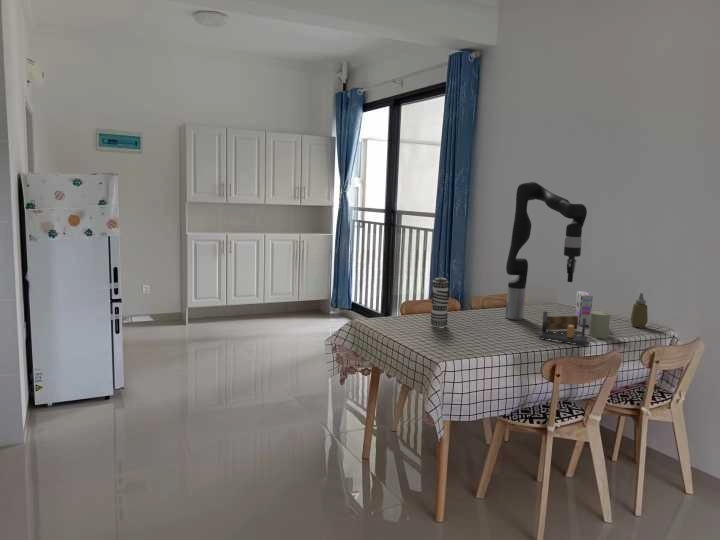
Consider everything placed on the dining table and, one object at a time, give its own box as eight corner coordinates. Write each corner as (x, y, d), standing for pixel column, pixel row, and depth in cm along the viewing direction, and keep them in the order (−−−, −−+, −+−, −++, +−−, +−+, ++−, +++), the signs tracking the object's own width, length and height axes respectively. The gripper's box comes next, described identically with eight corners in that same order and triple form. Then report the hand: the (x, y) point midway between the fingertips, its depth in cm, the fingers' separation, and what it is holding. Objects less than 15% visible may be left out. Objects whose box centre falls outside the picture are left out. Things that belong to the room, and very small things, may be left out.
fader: (566, 337, 263) (567, 326, 262) (568, 334, 267) (569, 324, 267) (572, 337, 262) (573, 327, 261) (573, 335, 266) (574, 324, 266)
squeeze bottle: (646, 326, 298) (649, 292, 295) (647, 329, 290) (650, 295, 288) (629, 324, 301) (632, 291, 298) (629, 327, 294) (633, 293, 291)
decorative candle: (451, 326, 288) (453, 278, 285) (441, 329, 282) (443, 280, 278) (436, 323, 295) (438, 276, 291) (426, 326, 288) (428, 278, 284)
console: (540, 339, 267) (540, 335, 267) (543, 335, 275) (543, 331, 275) (584, 345, 258) (585, 341, 258) (586, 341, 266) (587, 336, 266)
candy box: (590, 326, 294) (593, 295, 292) (578, 325, 295) (581, 295, 293) (585, 320, 308) (587, 291, 305) (574, 319, 309) (576, 290, 306)
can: (607, 339, 270) (609, 315, 268) (586, 336, 274) (588, 312, 273) (610, 335, 277) (612, 311, 276) (590, 332, 282) (592, 309, 280)
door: (548, 330, 281) (549, 317, 280) (546, 329, 283) (547, 316, 282) (578, 329, 284) (579, 316, 283) (575, 328, 286) (576, 315, 285)
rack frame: (541, 331, 282) (543, 311, 281) (542, 330, 284) (543, 311, 283) (583, 336, 273) (585, 316, 272) (584, 335, 275) (585, 315, 274)
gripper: (579, 247, 259) (576, 284, 262) (582, 245, 271) (579, 280, 274) (562, 246, 263) (559, 283, 265) (566, 244, 274) (563, 279, 277)
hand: (569, 281), depth 269 cm, fingers closed
